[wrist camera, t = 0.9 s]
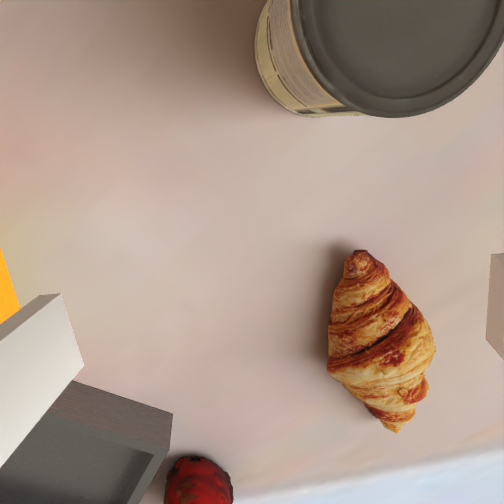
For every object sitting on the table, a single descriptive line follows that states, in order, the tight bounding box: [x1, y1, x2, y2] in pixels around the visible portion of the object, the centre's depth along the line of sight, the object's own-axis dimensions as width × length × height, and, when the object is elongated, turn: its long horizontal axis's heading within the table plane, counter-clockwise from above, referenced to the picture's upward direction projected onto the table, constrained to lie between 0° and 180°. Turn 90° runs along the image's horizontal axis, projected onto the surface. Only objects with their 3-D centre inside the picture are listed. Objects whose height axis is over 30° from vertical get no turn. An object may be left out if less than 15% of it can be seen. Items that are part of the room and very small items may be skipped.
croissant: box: [327, 250, 436, 433], centre depth 37 cm, size 21×10×8 cm
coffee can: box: [254, 0, 504, 118], centre depth 23 cm, size 10×10×14 cm
